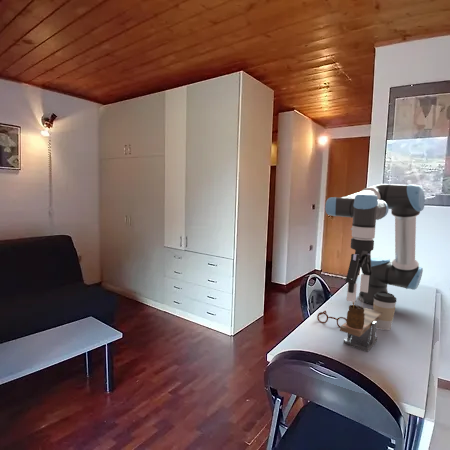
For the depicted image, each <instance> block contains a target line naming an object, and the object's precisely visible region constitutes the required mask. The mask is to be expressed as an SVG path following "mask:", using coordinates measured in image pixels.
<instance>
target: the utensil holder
mask: <svg viewBox="0 0 450 450" xmlns="http://www.w3.org/2000/svg"><path fill="white" fill-rule="evenodd" d="M361 299H362V298H360V299H359V297H358V298H357V300H356V304H355V302H352V304H350V305H349V306H348V311H347V313H346V319H347V325H348V326H349V327H352V328H356V329H361V328H363V326H364V319H365V314H364V308H365V307H363V305H360V304H361V302H359V301H361ZM358 303H359V304H358Z"/></svg>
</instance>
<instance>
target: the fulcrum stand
mask: <svg viewBox="0 0 450 450" xmlns="http://www.w3.org/2000/svg"><path fill="white" fill-rule="evenodd" d="M376 324H377V321H374V322H373V323H372V326H371V327H370V328H369V329H368V330H367V331H365V332H364V333H363V334H362V335H361V336H360V337H358V336H355V335H352V334H349V333H347V337H345V338H344V339H343V342H342V343H343V345H347V346H349V347H352V348H354V349H358V350H360V351H363V352H367V353H368V352H369V351H370V350H371V349H372V348H373V346H374V345H375V344H376V343H377V342H378V336H376V333H377V328H376Z"/></svg>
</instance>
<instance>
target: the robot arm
mask: <svg viewBox="0 0 450 450" xmlns="http://www.w3.org/2000/svg"><path fill="white" fill-rule="evenodd" d="M425 199H426V197H425V192H424V188H423V187H422V186H421V185H419V184H411V183H409V184H408V183H407V184H406V183H404V184H401V183H400V184H399V183H397V184H396V183H380V184H376V185H372V186H369V187H365V188H363V189H362V190H361V191H359V192H355V193H352V194H349V195H346V196H342V197H341V196H340V197H337V196H334V197H331V196H330V197H328V198H327V200H326V201H325V205H324V206H325V208H324V209H325V213H326V214H327V215H328V216H333V217H341V218H352V224H351V227H350V231H351V239H350V249H352V250H354V253H351V255H350V260H349V267H348V269H347V275H346V278H345V283H347V291H346V292H347V293H346V301H348V302H351V303H353V302H354V303H356V301H357V300H356V298H357V297H356V296H357V287H358V283H357V281H358V277H359V273H360V270H361V272H362V274H361V275H360V286H359V293H358V298H359V300H360V298H362V299H361V300H360V302H362V303H366V304H370V305H373V303H374V298H373V297H374V294H376V293H377V292H380V291H385V292H387V293H389V291H388V285H389V286H393V287H394V286H395V287H399V288H402V289H406V290H408V289H409V290H417V288H419V285H420V282H421V280H422V276H423V271H424V270H423V267H422V266H420V263H419V262H418V260H416V238H417V237H416V231H417V230H416V228H417V226H416V225H417V217H418V216H419V215H420V213H421V212H422V211H424V209H425V202H426V200H425ZM390 210H391V215H392V216H394V241H395V242H394V243H395V244H394V247H395V249H394V251H395V252H394V254H395V258H394V259H393V260H392V261H391V259H390V258H387V257H371V256H372V255H371V253H372V251H373V250H374V247H375V241H374V239H375V235H376V224H377V223H376V221H379V220H381V219H383V218H385V217H387V215H388V213H389V211H390Z"/></svg>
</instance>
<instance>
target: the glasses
mask: <svg viewBox="0 0 450 450" xmlns="http://www.w3.org/2000/svg"><path fill="white" fill-rule="evenodd" d="M321 315H325V316H326V320H325V321H321V320H320V316H321ZM316 317H317V318H316V319H317V321H318V322H319V323H321V324H326V323H327V322H328V320H329V319H333V320H336V326H337V327H338V328H340V326H341V325H339V320H340V319H342V320H344V321H345V323H346V322H347V317H343V316H339V317H337V318H336V317H335V316H334V317H333V316H329V315H328V314H327V310H323V312H322V311H319V312H318V314H317V316H316Z"/></svg>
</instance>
